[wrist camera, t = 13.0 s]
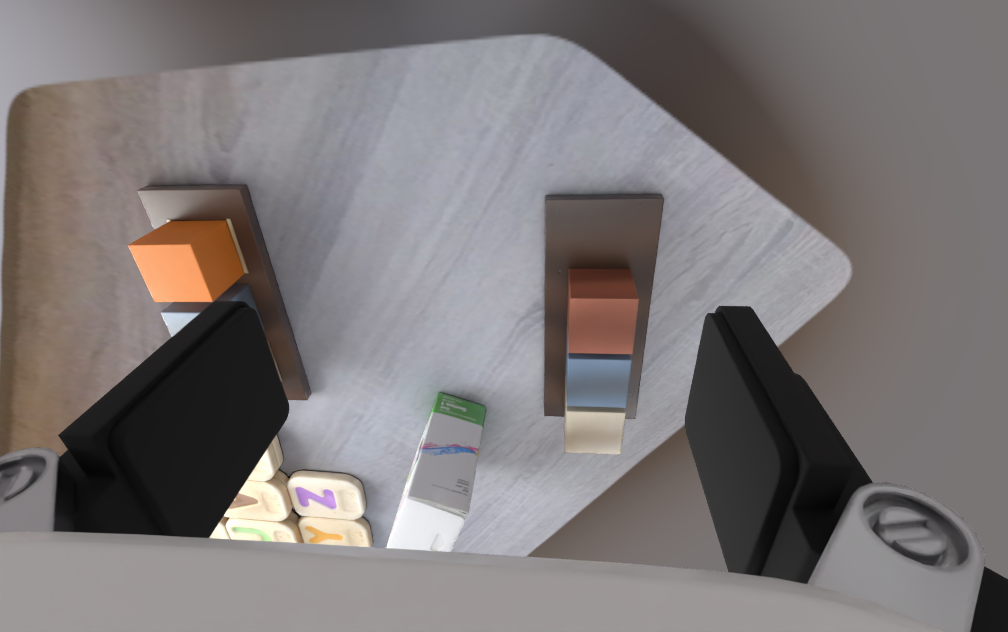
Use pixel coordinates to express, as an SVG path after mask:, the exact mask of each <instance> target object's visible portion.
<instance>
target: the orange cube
mask: <svg viewBox="0 0 1008 632" xmlns="http://www.w3.org/2000/svg"><path fill="white" fill-rule="evenodd" d="M128 246H129V248H130V250H131V252H132V255H133V257H134V259H135V261H136V263H137V265H138V267H139V269H140V272H141V274H142V276H143V278H144V280H145V282H146V284H147V287H148V289H149V291H150V293H151V295H152V297H153V299H154V301H155V302H213V301H215V300H216V299H217V298H218V297H219V296H220V295H221V294H222V293H224V292H225V291H226V290H227V289H228V288H229V287H230V286H231V285H232V284H234V283H235V282H236V281H237V280H238V279H239V278H240V277H241V276H242V275H244V271H243V268H242V265H241V262H240V260H239V257H238V254H237V251H236V248H235V245H234V242H233V239H232V237H231V234H230V231H229V228H228V225H227V222H226V220H219V221H169V222H167V223H166V224H164V225H162V226H161V227H159V228H157V229H155V230H154V231H152V232H150V233H148V234H147V235H145V236H143V237H141V238H140V239H138V240H136V241H134V242H133V243H131V244H129V245H128Z"/></svg>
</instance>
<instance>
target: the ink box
mask: <svg viewBox="0 0 1008 632" xmlns="http://www.w3.org/2000/svg"><path fill="white" fill-rule="evenodd" d="M485 415H486V408H485V406H482V405H479V404H476V403H472V402H469V401H466V400H463V399H460V398H457V397H453V396H450V395H446V394H443V393H438V395H437V398H436V400H435V403H434V406H433V409H432V411H431V414H430V417H429V420H428V422H427V425H426V428H425V431H424V433H423V436H422V439H421V442H420V444H419V447H418V450H417V453H416V456H415V459H414V461H413V464H412V468H411V471H410V474H409V477H408V480H407V483H406V486H405V489H404V493H403V496H402V499H401V502H400V505H399V508H398V512H397V515H396V518H395V521H394V525H393V528H392V531H391V534H390V538H389V541H388V544H387V547H386V548H393V549H409V550H426V551H443V552H450V551H451V549H452V547H453V546H454V543H455V540H456V539H457V538H458V536H459V534H460V532H461V529H462V527H463V526H464V524H465V519H466V517H467V516H468V513H469V508H470V502H471V497H472V491H473V485H474V479H475V473H476V467H477V461H478V455H479V449H480V443H481V437H482V432H483V426H484V420H485Z"/></svg>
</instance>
